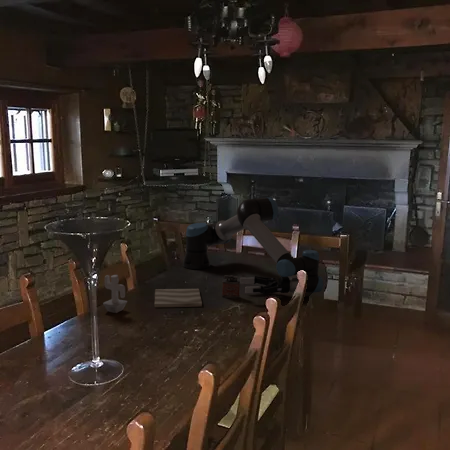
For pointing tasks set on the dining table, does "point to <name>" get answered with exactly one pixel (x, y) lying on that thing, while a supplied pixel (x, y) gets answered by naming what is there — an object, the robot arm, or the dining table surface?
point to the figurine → (114, 294)
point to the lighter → (230, 287)
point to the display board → (177, 298)
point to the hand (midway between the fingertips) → (242, 285)
